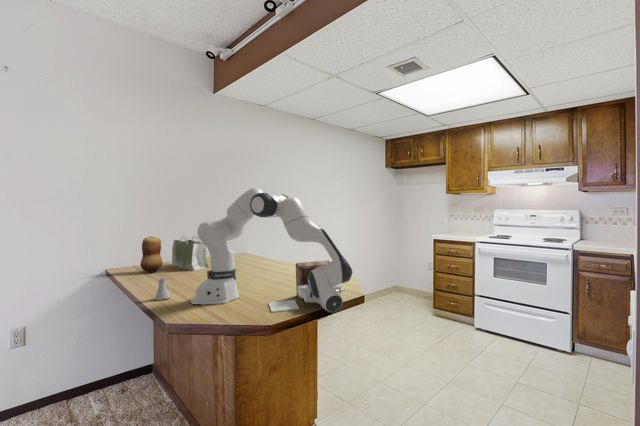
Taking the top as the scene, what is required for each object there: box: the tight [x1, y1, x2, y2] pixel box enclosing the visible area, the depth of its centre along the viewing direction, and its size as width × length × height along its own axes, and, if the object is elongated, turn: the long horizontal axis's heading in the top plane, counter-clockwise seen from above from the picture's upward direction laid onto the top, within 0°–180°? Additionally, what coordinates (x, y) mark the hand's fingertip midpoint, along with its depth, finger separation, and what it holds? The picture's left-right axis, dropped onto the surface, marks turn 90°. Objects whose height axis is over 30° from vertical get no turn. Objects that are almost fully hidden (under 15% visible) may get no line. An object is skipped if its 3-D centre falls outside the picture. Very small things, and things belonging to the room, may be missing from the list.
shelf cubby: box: [295, 259, 331, 302], centre depth 153 cm, size 17×9×16 cm, turn 105°
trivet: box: [268, 299, 300, 314], centre depth 140 cm, size 12×12×1 cm
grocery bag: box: [171, 236, 210, 272], centre depth 237 cm, size 32×14×23 cm, turn 50°
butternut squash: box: [140, 236, 163, 273], centre depth 222 cm, size 14×13×25 cm
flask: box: [154, 277, 171, 301], centre depth 158 cm, size 7×7×10 cm
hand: (316, 284), depth 151 cm, fingers open, 8 cm apart
